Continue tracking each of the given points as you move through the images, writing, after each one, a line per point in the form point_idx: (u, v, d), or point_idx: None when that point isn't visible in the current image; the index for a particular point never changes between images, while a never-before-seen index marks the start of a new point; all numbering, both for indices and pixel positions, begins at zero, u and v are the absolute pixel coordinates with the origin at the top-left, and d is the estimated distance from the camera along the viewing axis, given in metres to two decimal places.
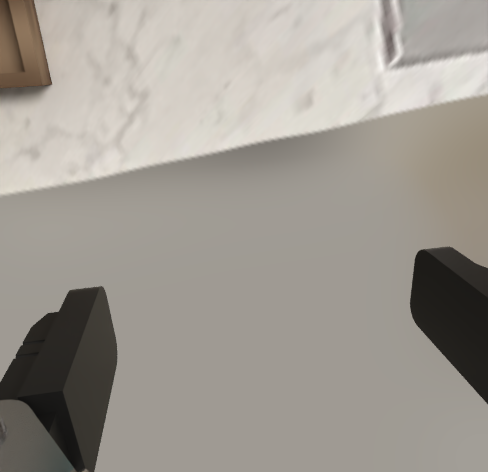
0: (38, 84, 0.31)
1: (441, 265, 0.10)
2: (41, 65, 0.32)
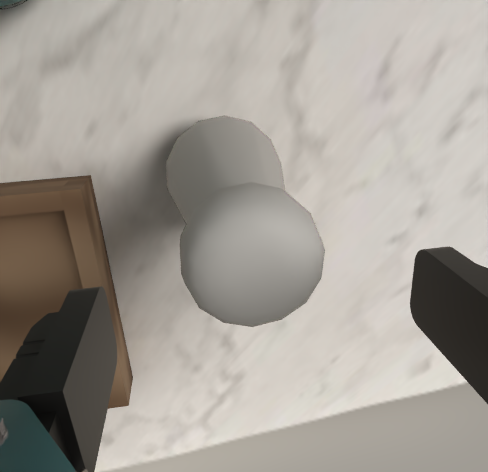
0: (123, 405, 0.26)
1: (441, 265, 0.10)
2: (126, 377, 0.26)
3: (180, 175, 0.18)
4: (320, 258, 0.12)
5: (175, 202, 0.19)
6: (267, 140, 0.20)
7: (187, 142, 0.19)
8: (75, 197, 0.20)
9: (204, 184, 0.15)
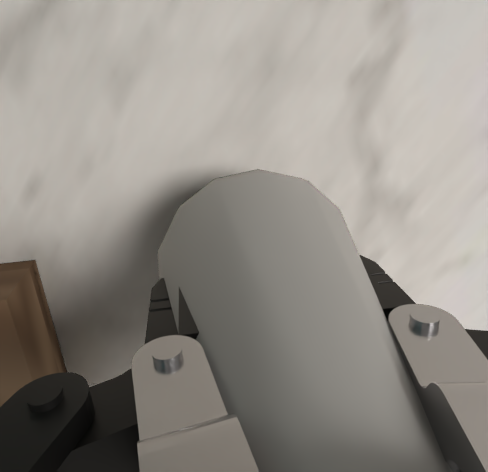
0: None
1: None
2: None
3: None
4: None
5: None
6: (338, 214, 0.11)
7: (196, 227, 0.10)
8: None
9: (242, 373, 0.06)
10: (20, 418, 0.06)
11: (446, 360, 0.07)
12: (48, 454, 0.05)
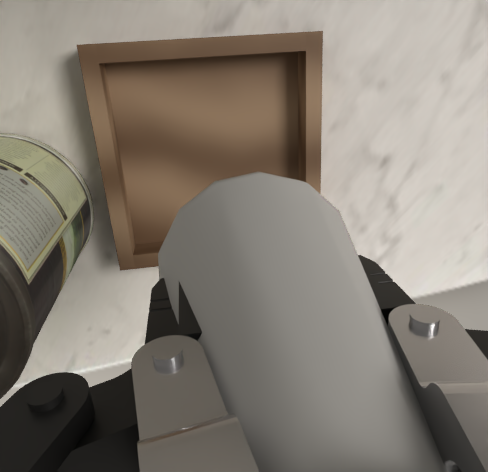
0: None
1: None
2: None
3: None
4: None
5: None
6: (337, 217, 0.11)
7: (196, 229, 0.10)
8: (317, 39, 0.25)
9: (242, 376, 0.06)
10: (20, 418, 0.06)
11: (445, 360, 0.07)
12: (48, 454, 0.05)
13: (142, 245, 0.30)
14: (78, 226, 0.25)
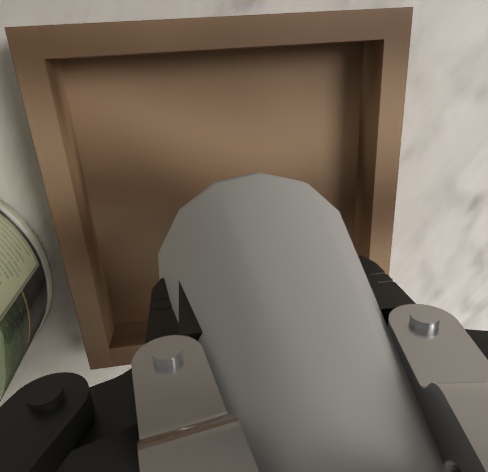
0: None
1: None
2: None
3: None
4: None
5: None
6: (337, 217, 0.11)
7: (196, 229, 0.10)
8: (403, 20, 0.15)
9: (242, 375, 0.06)
10: (20, 418, 0.06)
11: (446, 360, 0.07)
12: (48, 454, 0.05)
13: (124, 327, 0.20)
14: (18, 320, 0.16)
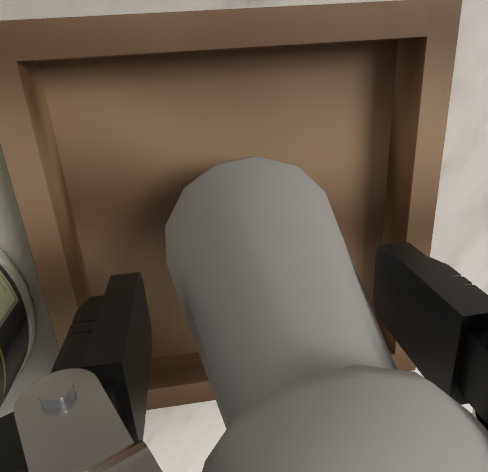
0: (408, 369, 0.18)
1: (396, 259, 0.10)
2: None
3: (189, 264, 0.11)
4: None
5: (179, 299, 0.12)
6: (323, 196, 0.13)
7: (200, 203, 0.12)
8: (450, 13, 0.13)
9: (238, 311, 0.08)
10: None
11: None
12: None
13: None
14: None
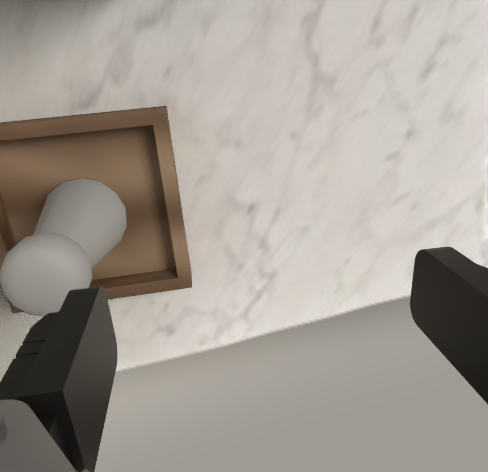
0: (188, 286, 0.34)
1: (441, 265, 0.10)
2: (189, 267, 0.34)
3: (38, 221, 0.27)
4: (80, 276, 0.21)
5: None
6: (109, 195, 0.29)
7: (49, 198, 0.28)
8: (161, 115, 0.29)
9: (38, 230, 0.24)
10: None
11: None
12: None
13: None
14: None
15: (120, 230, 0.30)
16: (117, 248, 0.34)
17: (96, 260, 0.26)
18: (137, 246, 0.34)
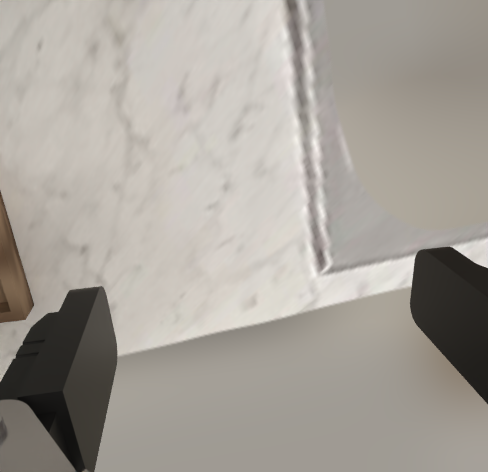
0: (21, 319, 0.38)
1: (441, 265, 0.10)
2: (24, 301, 0.38)
3: None
4: None
5: None
6: None
7: None
8: None
9: None
10: None
11: None
12: None
13: None
14: None
15: None
16: None
17: None
18: None
